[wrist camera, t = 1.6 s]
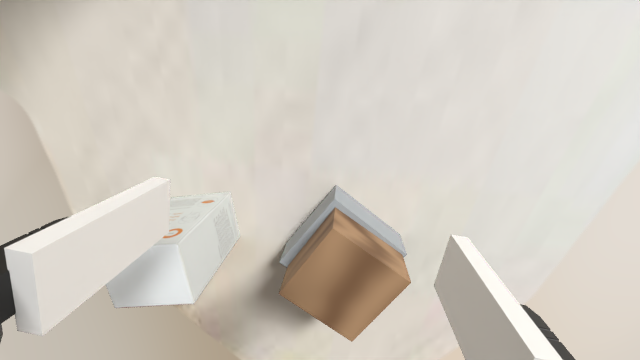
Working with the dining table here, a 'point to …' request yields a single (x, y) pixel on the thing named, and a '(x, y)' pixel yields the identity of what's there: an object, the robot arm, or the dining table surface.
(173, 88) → the dining table surface
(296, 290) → the brown wooden block
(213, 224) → the small box
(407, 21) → the dining table surface
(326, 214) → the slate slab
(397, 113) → the dining table surface
